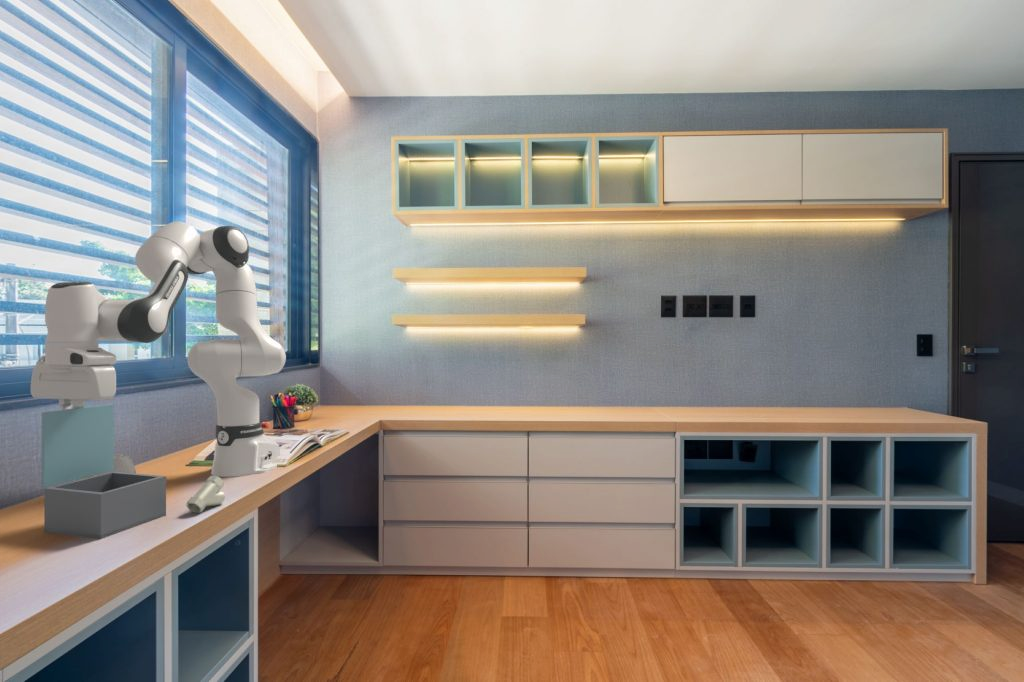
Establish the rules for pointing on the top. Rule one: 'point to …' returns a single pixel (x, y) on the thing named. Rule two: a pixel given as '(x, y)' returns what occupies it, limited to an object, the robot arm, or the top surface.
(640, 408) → the top surface
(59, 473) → the lid
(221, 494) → the pipe fitting
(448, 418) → the top surface
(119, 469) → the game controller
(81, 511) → the box
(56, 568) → the top surface
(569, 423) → the top surface
